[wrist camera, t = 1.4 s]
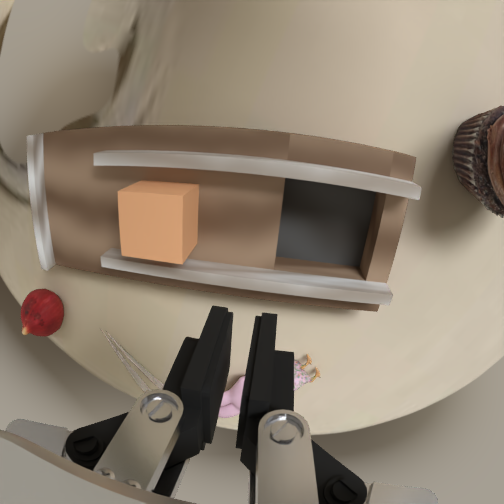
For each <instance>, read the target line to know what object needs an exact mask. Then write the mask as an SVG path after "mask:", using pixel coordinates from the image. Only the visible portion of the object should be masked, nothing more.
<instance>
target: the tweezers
mask: <svg viewBox="0 0 504 504" xmlns="http://www.w3.org/2000/svg"><path fill="white" fill-rule="evenodd" d="M101 331H102V330H101ZM102 332H103V331H102ZM106 332H107V331H106ZM103 334H104V335H105V337H106V338H107V340H108V341H109V343H110V344H111V346H112V347H113V349H114V350H115V352H116V353H117V355H118V357H119V358H120V359H121V361H122V362H123V364H124V365H125V367H126V368H127V370H128V371H129V373H130V374H131V376H132V377H133V379H134V380H135V381H136V383H137V384H138V386H139V387H140V388H141V389H142V390H143V391H144V392H146V390H148V391H151V390H150V388H149V387H148V386H147V385H146V384H145V382H144V381H143V380H142V379H141V378H140V377H139V375H138V374H137V373H136V372H135V371H134V370H133V369H132V368H131V366H130V365H129V364H128V363H127V361H126V360H125V359H124V357H123V356H122V355H121V354H120V352H119V351H118V350H117V349H116V347H115V346H114V345H113V343H112V342H111V341H110V339H109V338H108V337H107V336H106V334H105V333H104V332H103ZM107 334H108V332H107ZM108 335H109V334H108ZM109 336H110V335H109ZM110 337H111V336H110ZM111 339H112V340H113V341H114V342H115V343H116V345H117V346H118V347H119V348H120V350H121V351H122V352H123V353H124V354H125V355H126V356H127V357H128V358H129V360H130V361H131V362H132V363H133V364H134V365H135V366H136V367H137V368H139V369H140V370H141V371H142V372H143V373H144V374H145V375H146V376H147V377H148V378H149V379H150V380H151V381H152V382H153V383H154V384H155V385H156V386H157V387H159V388H160V389H163V387H164V384H163V383H161V382H160V381H159V380H158V379H156V378H155V377H154V376H153V375H152V374H150V373H149V372H148V371H147V370H146V369H145V368H144V367H142V366H141V365H140V364H139V363H138V362H137V361H136V360H135V359H134V358H133V357H132V356H130V355H129V354H128V353H127V352H126V351H125V350H124V349H123V348H122V347H121V346H120V345H119V344H118V343H117V342H116V341H115V340H114V339H113V338H112V337H111ZM154 381H155V382H156V383H155V382H154ZM161 386H162V387H161Z"/></svg>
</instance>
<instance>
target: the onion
mask: <svg viewBox="0 0 504 504" xmlns="http://www.w3.org/2000/svg"><path fill="white" fill-rule="evenodd" d="M63 317H64V310H63V304H62V302H61V300H60V298H59V297H58V296H57V295H56V294H55V293H54V292H52V291H49V290H47V289H36V290H34V291H32V292H30V293H29V294H28V295H27V297H26V298H25V300H24V302H23V304H22V307H21V320H22V323H23V328H22V333H23V335H26V334H29V333H31V334H33V335H36V336H49V335H51V334H53V333H55V332H56V331H57V330H58V329H59V328H60V326H61V324H62V321H63Z"/></svg>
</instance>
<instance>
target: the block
mask: <svg viewBox="0 0 504 504" xmlns="http://www.w3.org/2000/svg"><path fill="white" fill-rule="evenodd" d="M198 203H199V184H192V183H178V182H164V181H147V180H141V181H139V182H137V183H134V184H132V185H130V186H128V187H126V188H123V189H121V190H119V191H118V212H119V229H120V242H121V253H122V256H128V257H134V258H141V259H148V260H155V261H161V262H168V263H175V264H182V265H183V263H184V262H185V260H186V259H187V257H188V256H189V255H190V253H191V252H192V250H193V249H194V248H195V246H196V245H197V237H198Z"/></svg>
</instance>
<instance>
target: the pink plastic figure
mask: <svg viewBox="0 0 504 504" xmlns="http://www.w3.org/2000/svg"><path fill="white" fill-rule="evenodd" d="M308 355H309V354H307V358H308V359H307V363H306V364H305V365H301V364H300V363H299V362H298V361H296V360H294V390H297V389H299V388H300V387H301V386H302V385H304V384H305V383H308V382H313V381H314V380H315V378H316V377H317V376H318V377H319V378H321V377H320V373H319V371H318V369H317V368H315V369H316V375H315V376H314V377H309V376H308V374H307V373H306V372H305V371H304V370H302V369H304V368H305V367H306V366H307V365H308V364H311V362H312V361H311V358H310V357H309V356H308ZM311 365H312V364H311ZM244 380H245V376H243V377H241V378H240V379H239V380H238V381H237V382H236V383H235V384H234V385H233V387H232V388H231V389H230V390H228V391H225V392H224V394H223V398H222V402H221V406H222V407H220V411H219V415H218V417H222V418H228V417H233V416H236V415H238V414H239V413H240V405H241V397H242V391H243V385H244Z"/></svg>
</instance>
